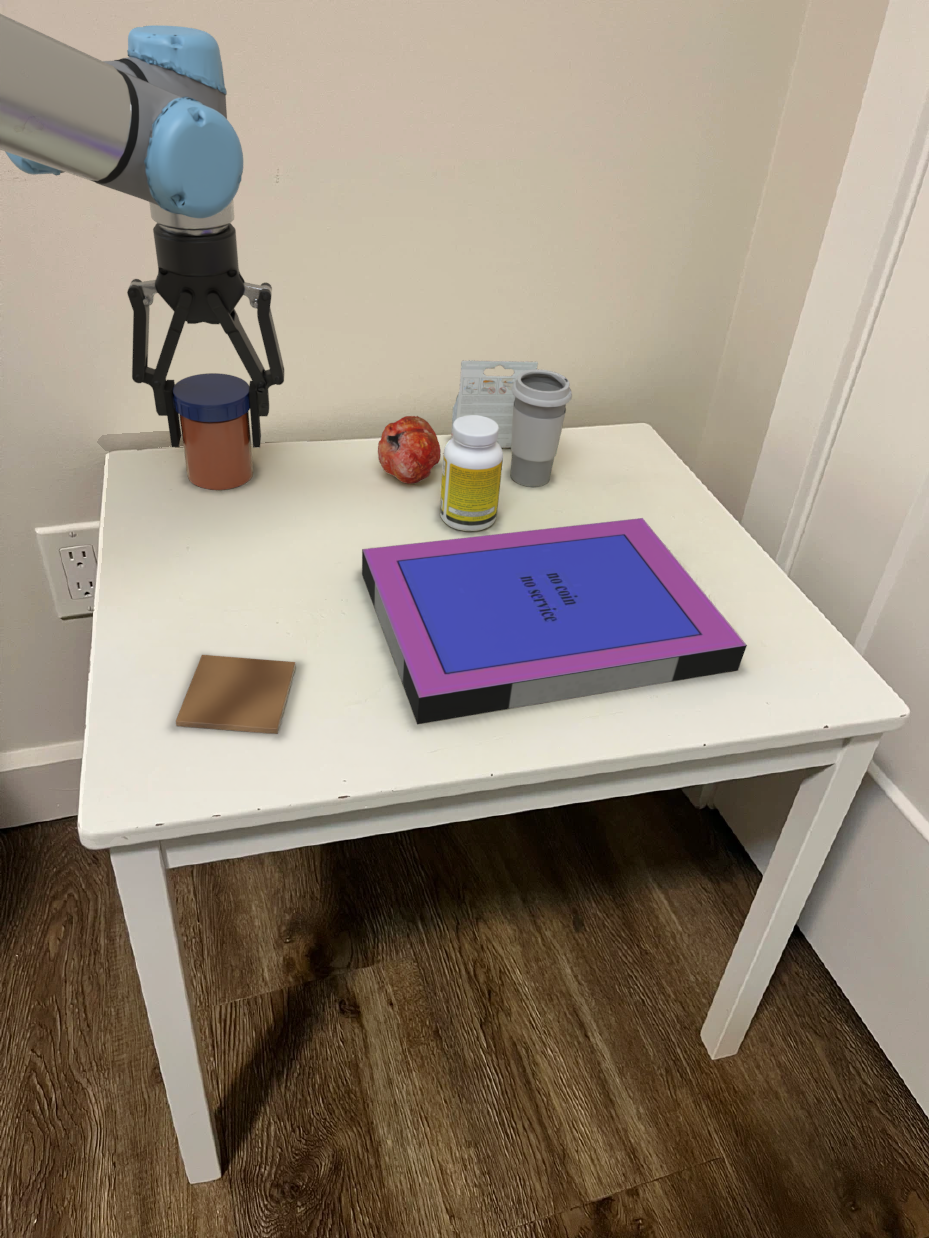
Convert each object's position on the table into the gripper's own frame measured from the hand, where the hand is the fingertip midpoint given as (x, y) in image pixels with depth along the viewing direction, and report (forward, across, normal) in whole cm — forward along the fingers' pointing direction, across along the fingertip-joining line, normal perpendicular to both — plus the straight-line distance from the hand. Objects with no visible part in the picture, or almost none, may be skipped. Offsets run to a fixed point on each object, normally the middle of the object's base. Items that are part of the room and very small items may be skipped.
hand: (217, 441), depth 100 cm
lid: (-6, 0, 0) cm, 6 cm away
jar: (+4, 0, 0) cm, 4 cm away
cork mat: (+4, -4, +36) cm, 37 cm away
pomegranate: (+4, -21, 0) cm, 22 cm away
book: (+4, -32, +28) cm, 42 cm away
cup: (+4, -35, +1) cm, 36 cm away
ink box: (+4, -32, -7) cm, 33 cm away
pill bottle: (+4, -27, +10) cm, 29 cm away
